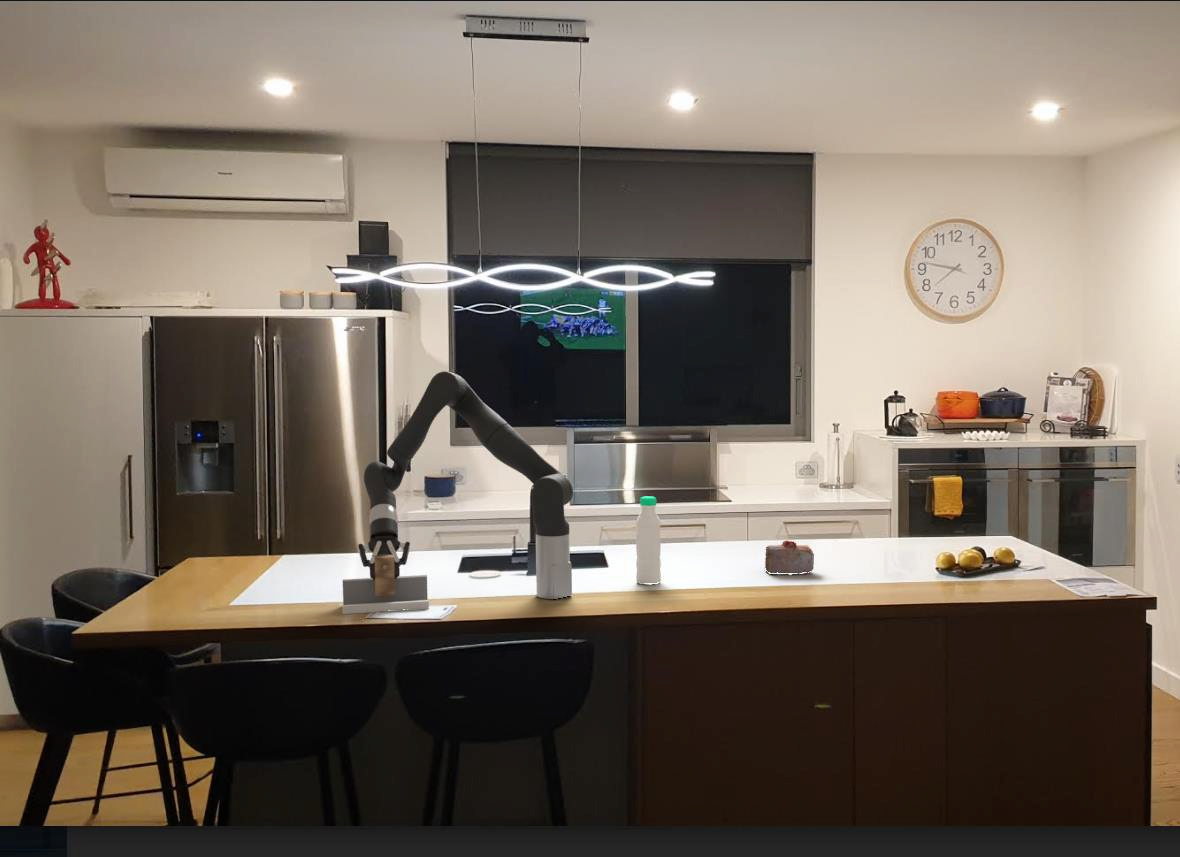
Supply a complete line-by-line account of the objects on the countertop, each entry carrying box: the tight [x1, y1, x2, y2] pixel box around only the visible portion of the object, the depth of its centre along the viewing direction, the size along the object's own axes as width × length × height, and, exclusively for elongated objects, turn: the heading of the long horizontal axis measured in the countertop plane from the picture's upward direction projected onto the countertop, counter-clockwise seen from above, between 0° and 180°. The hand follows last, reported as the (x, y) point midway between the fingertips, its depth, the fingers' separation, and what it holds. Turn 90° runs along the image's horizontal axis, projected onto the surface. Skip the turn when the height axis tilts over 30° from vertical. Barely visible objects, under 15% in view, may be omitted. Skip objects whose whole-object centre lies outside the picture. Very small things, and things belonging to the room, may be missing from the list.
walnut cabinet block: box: [375, 554, 395, 596], centre depth 261 cm, size 5×5×10 cm
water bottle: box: [635, 495, 662, 583], centre depth 285 cm, size 7×7×25 cm
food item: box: [764, 540, 815, 574], centre depth 296 cm, size 14×8×10 cm, turn 94°
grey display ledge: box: [341, 574, 430, 615], centre depth 261 cm, size 22×9×7 cm, turn 102°
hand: (385, 577), depth 259 cm, fingers closed on walnut cabinet block, 5 cm apart
